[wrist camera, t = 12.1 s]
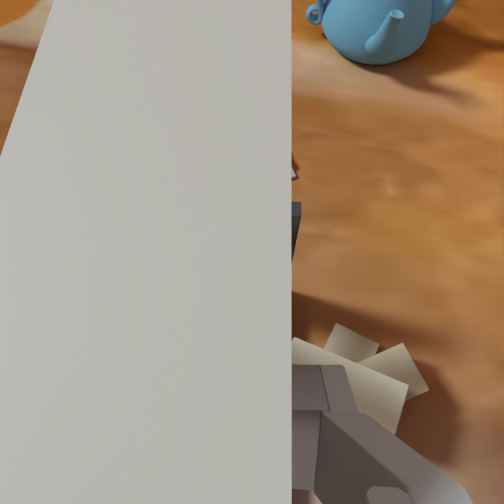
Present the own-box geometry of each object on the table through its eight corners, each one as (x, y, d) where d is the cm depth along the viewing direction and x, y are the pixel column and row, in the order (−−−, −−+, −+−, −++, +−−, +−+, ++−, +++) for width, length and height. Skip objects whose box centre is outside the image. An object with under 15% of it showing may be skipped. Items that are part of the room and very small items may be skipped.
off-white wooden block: (152, 484, 17) (-123, 512, 4) (184, 208, 22) (102, -138, 10) (259, 488, 17) (291, 529, 4) (266, 211, 22) (290, -133, 10)
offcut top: (291, 343, 36) (293, 336, 35) (400, 389, 35) (408, 385, 33) (272, 390, 35) (274, 386, 33) (385, 441, 33) (393, 439, 32)
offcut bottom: (283, 434, 37) (285, 432, 36) (332, 329, 41) (336, 322, 39) (328, 459, 37) (332, 458, 35) (373, 349, 40) (379, 344, 39)
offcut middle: (287, 396, 37) (290, 392, 35) (395, 348, 38) (402, 342, 37) (309, 445, 35) (313, 445, 33) (420, 393, 37) (429, 390, 35)
